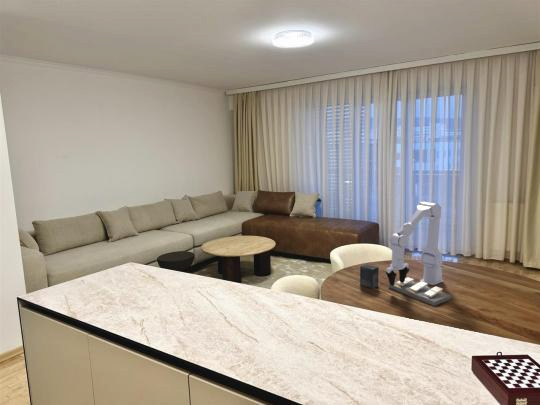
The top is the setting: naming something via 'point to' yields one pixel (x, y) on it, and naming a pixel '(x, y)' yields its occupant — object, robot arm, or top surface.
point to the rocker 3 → (433, 291)
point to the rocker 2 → (418, 286)
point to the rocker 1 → (407, 280)
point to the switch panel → (421, 293)
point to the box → (369, 275)
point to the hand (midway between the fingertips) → (396, 283)
